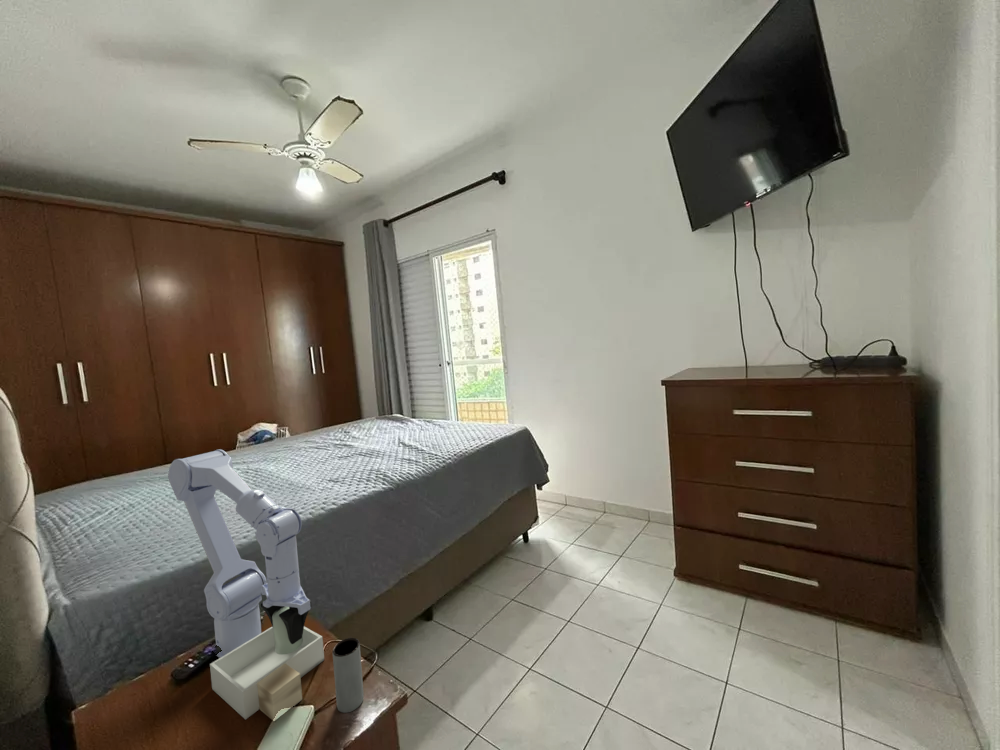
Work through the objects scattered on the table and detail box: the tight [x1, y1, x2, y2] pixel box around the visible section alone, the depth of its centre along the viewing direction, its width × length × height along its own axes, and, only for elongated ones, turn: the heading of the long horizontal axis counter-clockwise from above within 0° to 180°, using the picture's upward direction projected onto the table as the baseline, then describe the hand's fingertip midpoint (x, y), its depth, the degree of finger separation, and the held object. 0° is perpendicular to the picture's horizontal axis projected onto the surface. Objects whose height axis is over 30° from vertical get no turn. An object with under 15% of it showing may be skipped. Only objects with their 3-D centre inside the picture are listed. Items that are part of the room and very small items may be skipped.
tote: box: [209, 625, 325, 720], centre depth 77 cm, size 13×15×5 cm
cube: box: [257, 664, 303, 721], centre depth 70 cm, size 5×5×5 cm
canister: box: [272, 606, 303, 654], centre depth 79 cm, size 5×5×7 cm
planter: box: [332, 637, 365, 714], centre depth 69 cm, size 4×4×10 cm
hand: (288, 635), depth 79 cm, fingers closed on canister, 5 cm apart
